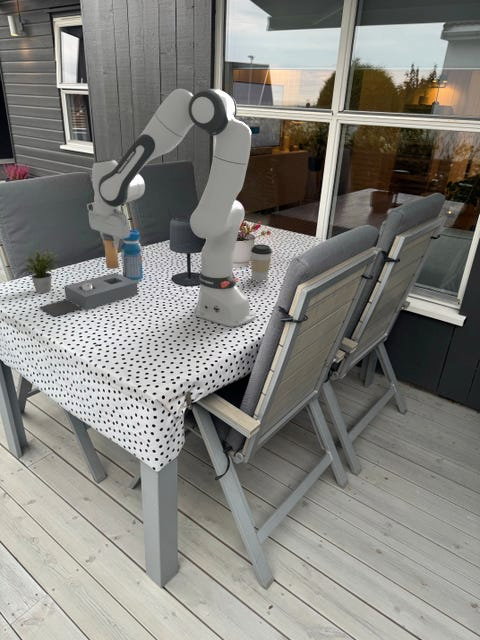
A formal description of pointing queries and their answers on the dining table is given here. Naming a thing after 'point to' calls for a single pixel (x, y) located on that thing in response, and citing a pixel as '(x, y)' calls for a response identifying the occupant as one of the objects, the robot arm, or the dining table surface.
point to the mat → (60, 308)
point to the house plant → (41, 272)
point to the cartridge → (110, 252)
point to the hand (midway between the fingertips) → (110, 245)
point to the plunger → (86, 286)
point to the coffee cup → (260, 261)
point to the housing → (101, 291)
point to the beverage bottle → (132, 257)
